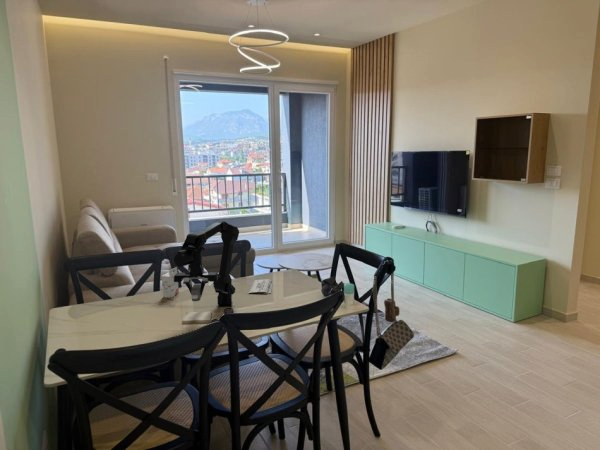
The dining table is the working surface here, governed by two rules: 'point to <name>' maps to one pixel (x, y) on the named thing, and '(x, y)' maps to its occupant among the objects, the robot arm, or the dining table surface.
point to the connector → (196, 292)
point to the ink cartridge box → (169, 284)
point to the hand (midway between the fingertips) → (196, 295)
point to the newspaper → (261, 286)
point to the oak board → (197, 317)
